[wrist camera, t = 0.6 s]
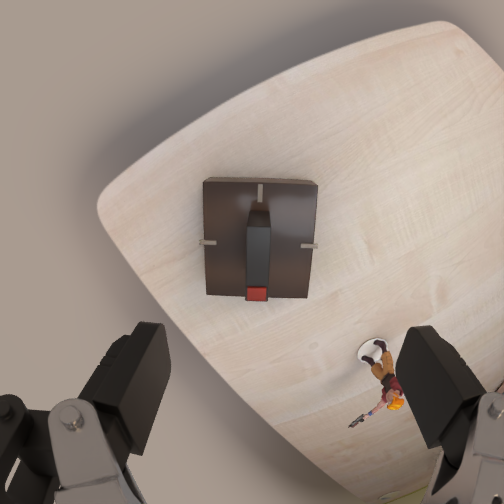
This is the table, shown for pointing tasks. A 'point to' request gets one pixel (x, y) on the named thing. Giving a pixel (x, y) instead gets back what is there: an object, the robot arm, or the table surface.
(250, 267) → the knob
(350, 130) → the table surface
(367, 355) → the action figure
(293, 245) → the panel
